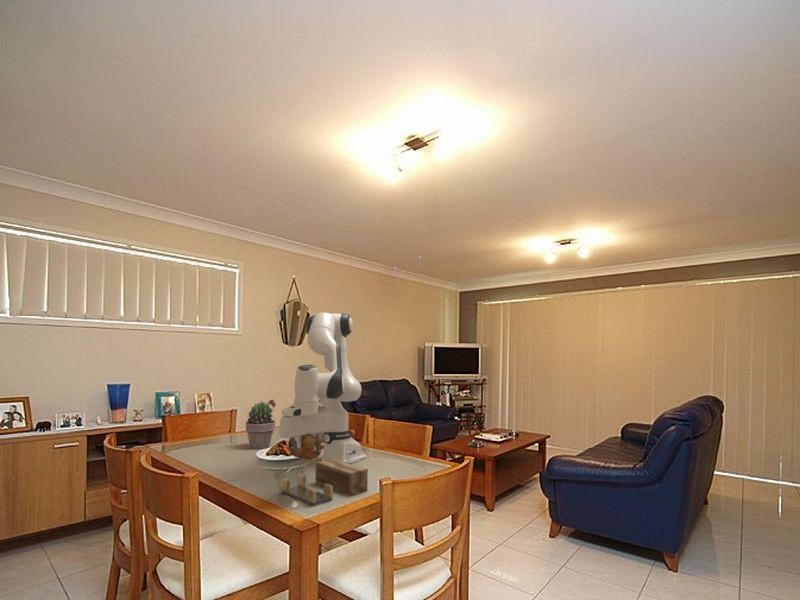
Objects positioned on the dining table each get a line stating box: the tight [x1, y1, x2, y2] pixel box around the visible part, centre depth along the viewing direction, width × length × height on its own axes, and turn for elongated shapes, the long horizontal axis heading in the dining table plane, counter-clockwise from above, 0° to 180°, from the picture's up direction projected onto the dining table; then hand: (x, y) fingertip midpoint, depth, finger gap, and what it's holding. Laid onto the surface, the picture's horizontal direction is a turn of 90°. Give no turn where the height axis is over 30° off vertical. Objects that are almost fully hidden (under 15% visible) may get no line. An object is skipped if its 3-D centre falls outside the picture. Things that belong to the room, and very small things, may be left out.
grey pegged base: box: [280, 474, 334, 507], centre depth 164 cm, size 8×20×5 cm, turn 46°
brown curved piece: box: [288, 435, 322, 461], centre depth 166 cm, size 15×3×8 cm, turn 55°
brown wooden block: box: [314, 459, 369, 496], centre depth 175 cm, size 8×22×8 cm, turn 46°
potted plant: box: [241, 399, 277, 450], centre depth 243 cm, size 18×20×25 cm
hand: (304, 447), depth 166 cm, fingers closed on brown curved piece, 3 cm apart
